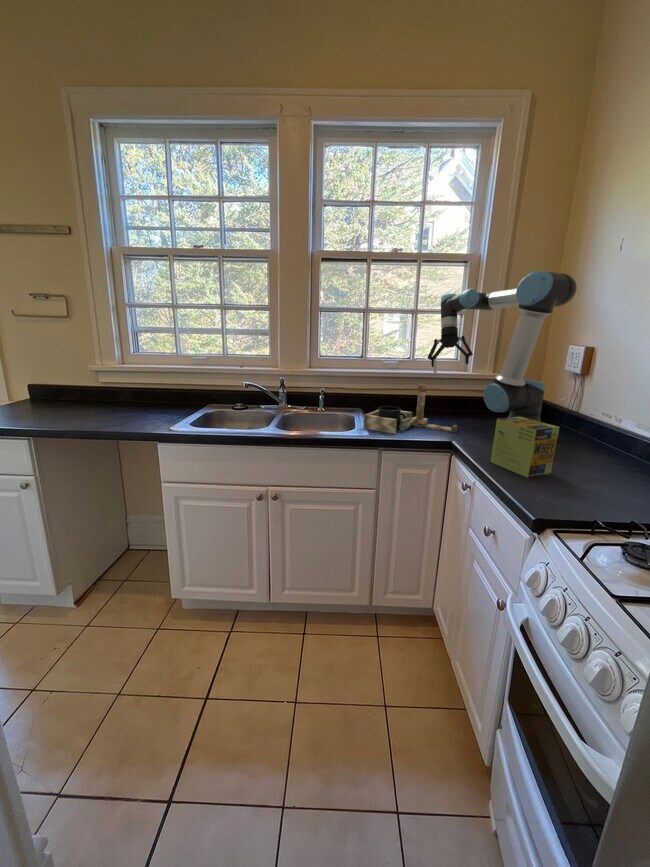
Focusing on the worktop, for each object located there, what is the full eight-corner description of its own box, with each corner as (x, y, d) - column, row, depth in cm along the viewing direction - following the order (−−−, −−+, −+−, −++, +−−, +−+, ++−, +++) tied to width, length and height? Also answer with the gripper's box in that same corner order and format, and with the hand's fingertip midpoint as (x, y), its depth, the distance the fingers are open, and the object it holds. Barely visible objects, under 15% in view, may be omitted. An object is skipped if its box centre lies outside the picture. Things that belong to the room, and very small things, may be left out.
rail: (456, 430, 173) (457, 425, 172) (454, 432, 170) (455, 427, 169) (401, 421, 187) (401, 416, 186) (398, 423, 183) (398, 418, 183)
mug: (407, 431, 170) (408, 410, 168) (379, 430, 170) (381, 410, 167) (402, 425, 180) (403, 406, 177) (376, 425, 179) (377, 405, 176)
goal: (411, 424, 181) (412, 412, 179) (394, 433, 166) (395, 420, 164) (381, 420, 189) (382, 407, 187) (363, 428, 174) (363, 414, 172)
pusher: (427, 424, 180) (431, 383, 175) (413, 432, 167) (417, 388, 162) (414, 422, 184) (417, 382, 178) (400, 430, 170) (403, 386, 165)
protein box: (528, 478, 121) (536, 429, 116) (489, 462, 134) (496, 418, 130) (551, 474, 125) (560, 426, 120) (512, 458, 138) (519, 415, 134)
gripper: (478, 326, 184) (478, 371, 184) (424, 333, 195) (424, 375, 195) (476, 321, 178) (477, 368, 177) (421, 329, 189) (421, 373, 188)
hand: (449, 372), depth 186 cm, fingers open, 13 cm apart
